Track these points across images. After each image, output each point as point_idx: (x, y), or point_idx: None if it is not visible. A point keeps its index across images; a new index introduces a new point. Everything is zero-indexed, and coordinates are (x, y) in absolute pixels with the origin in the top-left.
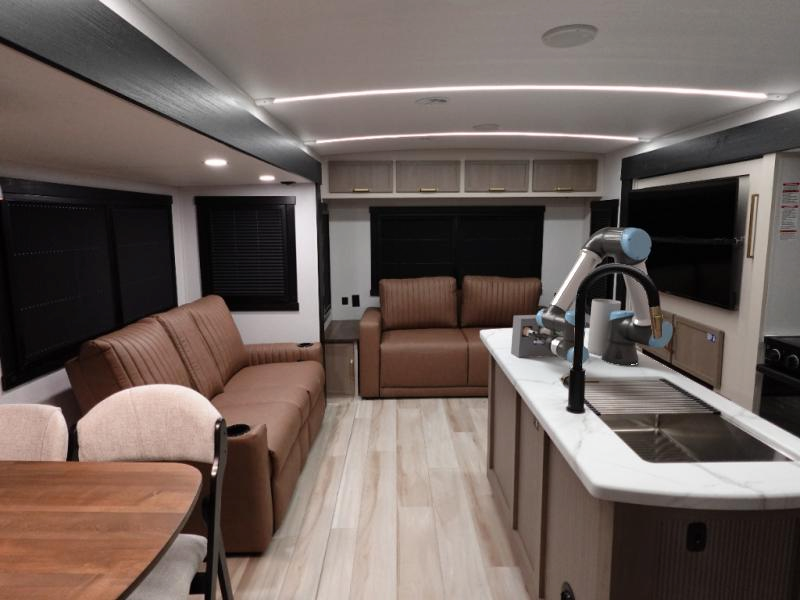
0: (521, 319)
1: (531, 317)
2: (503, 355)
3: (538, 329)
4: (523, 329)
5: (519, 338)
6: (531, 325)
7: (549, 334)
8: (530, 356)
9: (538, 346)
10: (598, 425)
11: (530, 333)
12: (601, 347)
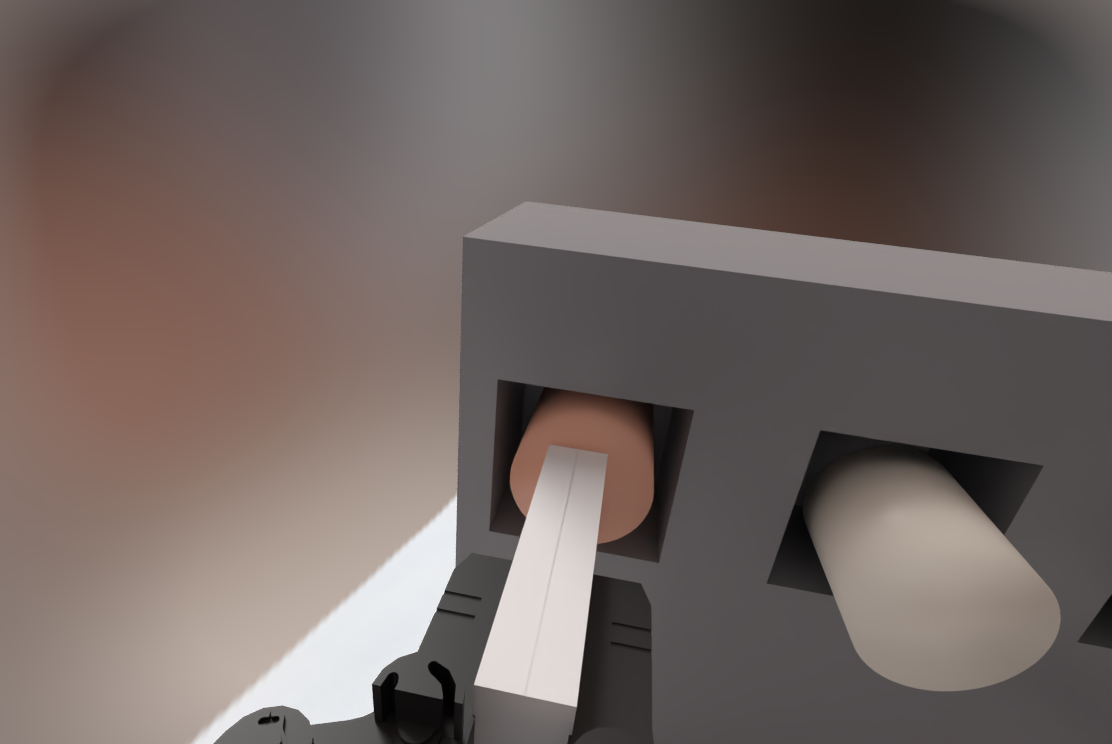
0: (468, 251)
1: (727, 254)
2: (382, 599)
3: (814, 478)
4: (529, 426)
5: (458, 534)
6: (671, 396)
7: (1008, 674)
8: None
9: (752, 698)
10: None
11: (441, 624)
12: None
